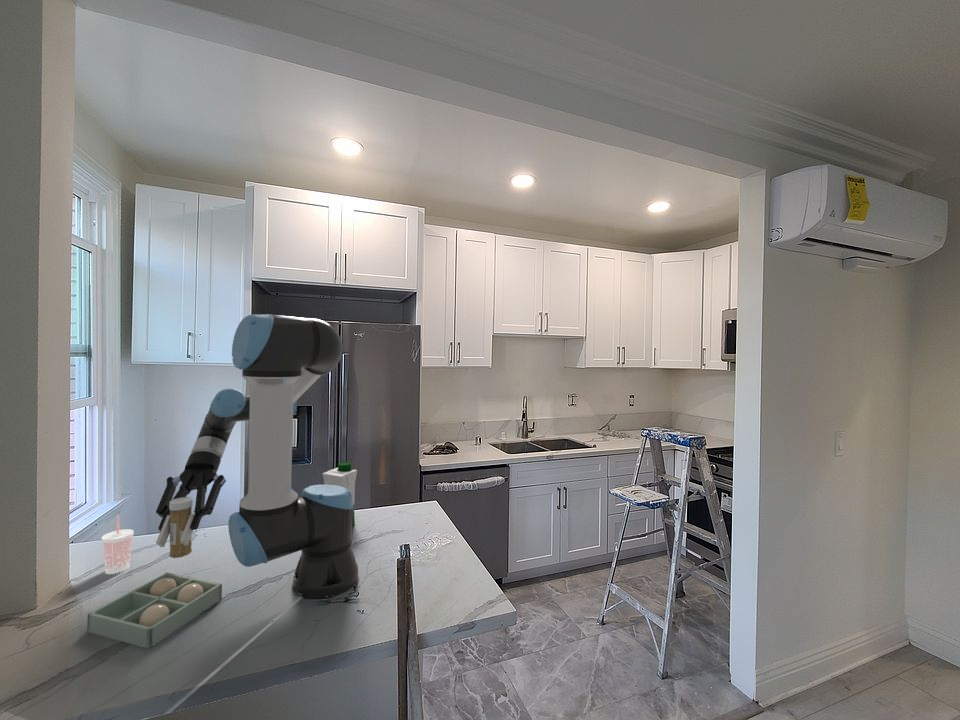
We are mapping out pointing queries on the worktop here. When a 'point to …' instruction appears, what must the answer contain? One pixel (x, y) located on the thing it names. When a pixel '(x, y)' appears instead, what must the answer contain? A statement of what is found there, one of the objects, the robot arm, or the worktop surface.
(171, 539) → the sprinkles bottle
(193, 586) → the egg
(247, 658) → the worktop surface
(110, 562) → the beverage cup
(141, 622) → the egg
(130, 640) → the carton
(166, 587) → the egg
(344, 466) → the milk carton
